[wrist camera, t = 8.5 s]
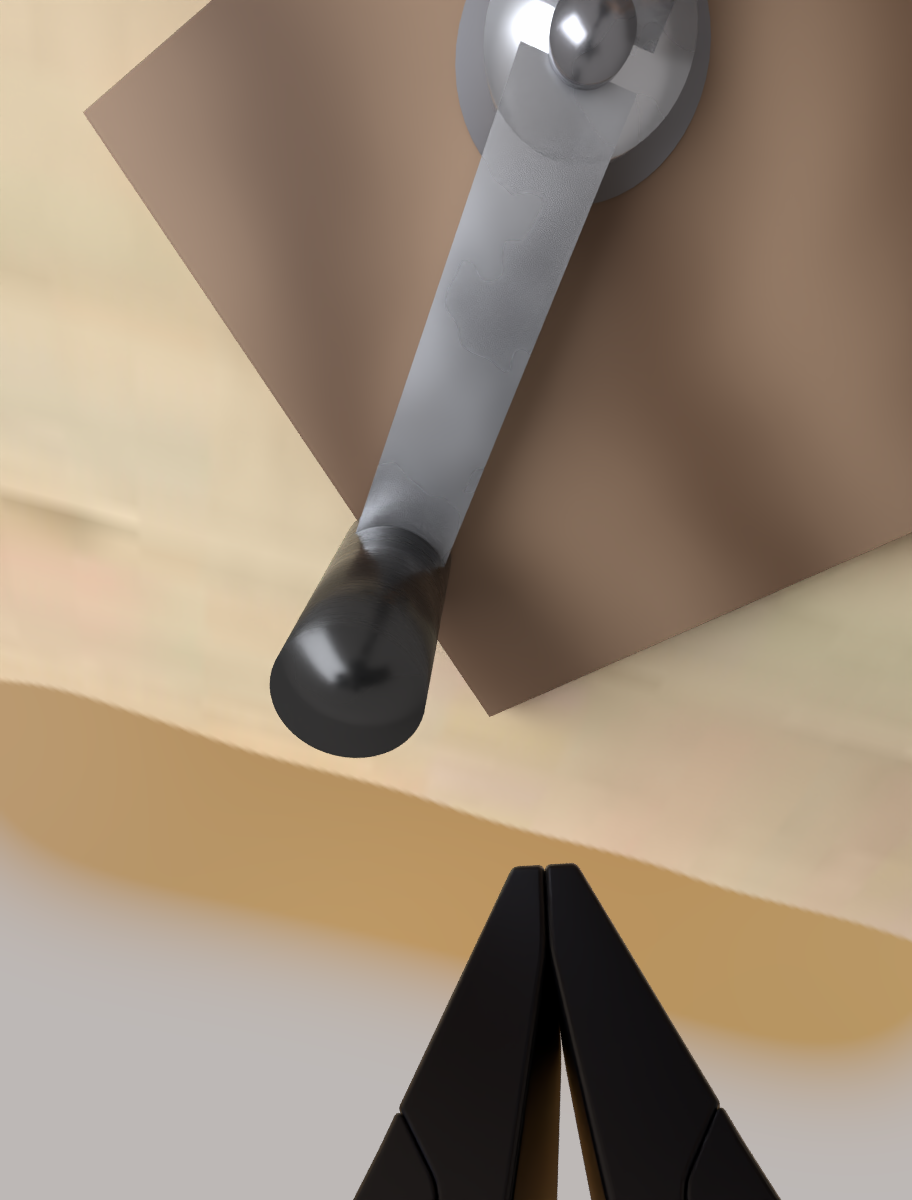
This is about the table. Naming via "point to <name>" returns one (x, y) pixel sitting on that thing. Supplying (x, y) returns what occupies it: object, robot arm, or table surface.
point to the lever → (476, 350)
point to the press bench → (569, 300)
